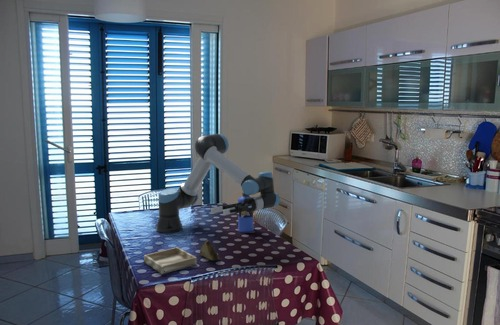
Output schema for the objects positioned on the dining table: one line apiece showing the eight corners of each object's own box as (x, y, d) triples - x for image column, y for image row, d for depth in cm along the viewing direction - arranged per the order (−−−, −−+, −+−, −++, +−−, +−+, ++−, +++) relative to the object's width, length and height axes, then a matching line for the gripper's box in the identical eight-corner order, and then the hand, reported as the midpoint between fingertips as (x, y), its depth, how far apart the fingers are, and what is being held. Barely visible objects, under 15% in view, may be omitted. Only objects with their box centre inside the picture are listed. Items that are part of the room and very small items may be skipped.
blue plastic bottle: (252, 233, 244) (252, 191, 240) (236, 232, 246) (236, 190, 242) (255, 228, 253) (255, 187, 249) (239, 227, 255) (239, 187, 251)
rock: (193, 250, 210) (197, 254, 200) (203, 235, 211) (207, 239, 201) (211, 261, 212) (215, 266, 203) (221, 247, 213) (225, 251, 204)
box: (144, 262, 200) (143, 255, 200) (177, 253, 211) (177, 246, 211) (161, 274, 186) (161, 266, 186) (196, 264, 198) (196, 257, 197)
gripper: (266, 212, 210) (229, 221, 199) (242, 209, 232) (207, 217, 221) (264, 197, 210) (227, 205, 199) (240, 196, 231) (205, 203, 221)
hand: (217, 211), depth 210 cm, fingers open, 13 cm apart
